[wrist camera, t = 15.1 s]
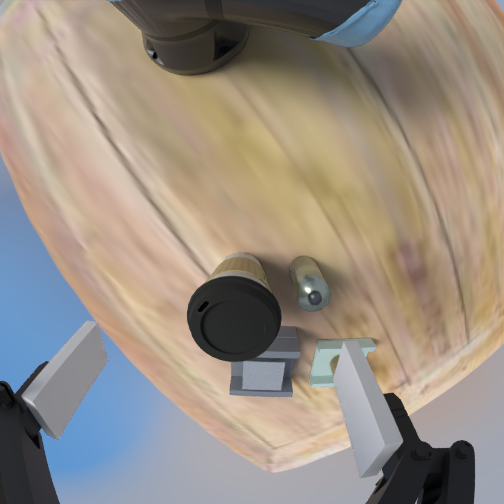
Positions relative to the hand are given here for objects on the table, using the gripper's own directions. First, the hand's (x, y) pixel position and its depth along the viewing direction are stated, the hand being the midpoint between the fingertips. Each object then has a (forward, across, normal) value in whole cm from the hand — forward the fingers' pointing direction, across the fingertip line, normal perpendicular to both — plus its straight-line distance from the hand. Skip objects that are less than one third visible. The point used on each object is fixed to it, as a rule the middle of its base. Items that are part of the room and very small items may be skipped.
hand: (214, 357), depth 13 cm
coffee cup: (+27, 0, -6) cm, 28 cm away
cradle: (+27, +4, -20) cm, 34 cm away
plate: (+22, +4, -20) cm, 30 cm away
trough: (+27, +18, -22) cm, 39 cm away
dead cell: (+27, +9, -5) cm, 29 cm away
